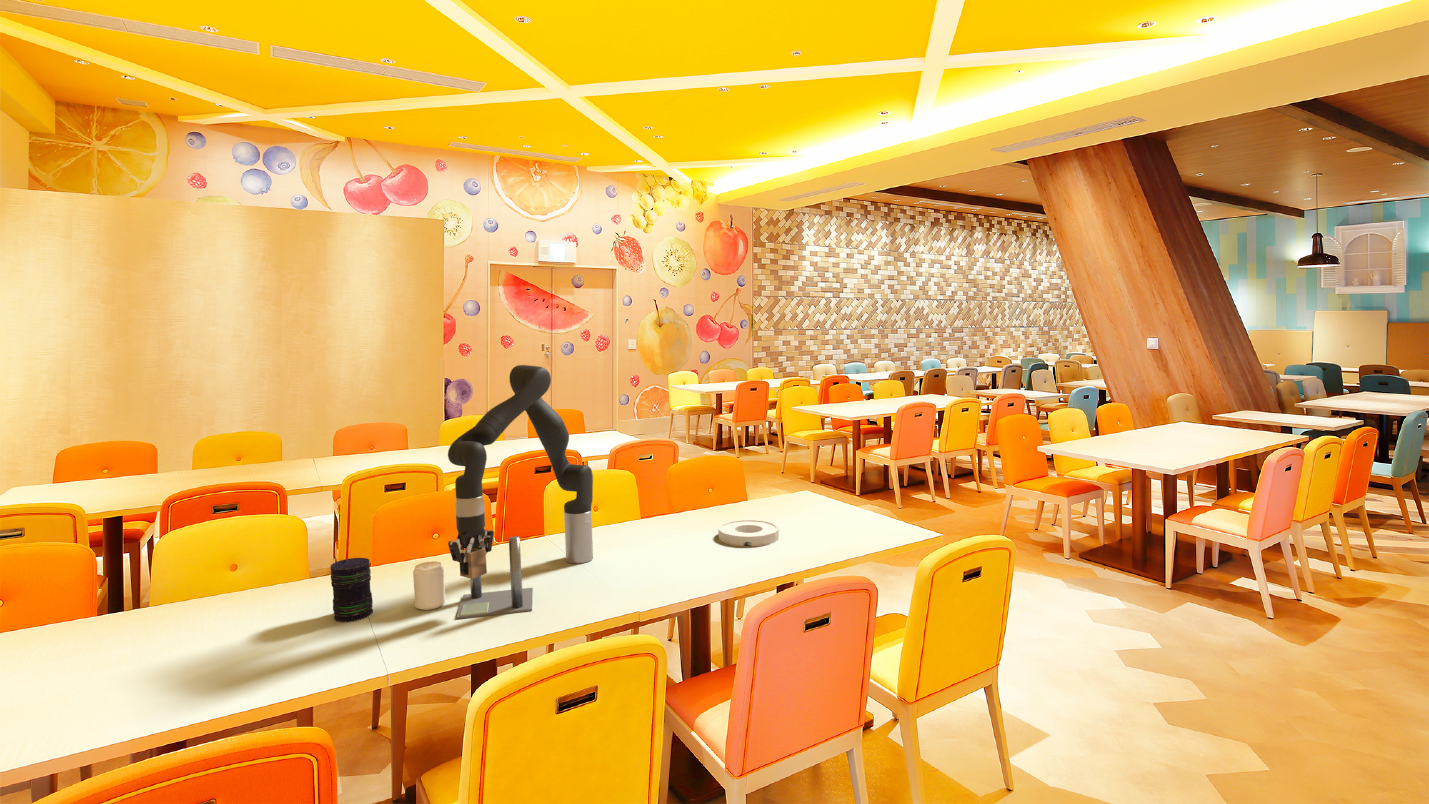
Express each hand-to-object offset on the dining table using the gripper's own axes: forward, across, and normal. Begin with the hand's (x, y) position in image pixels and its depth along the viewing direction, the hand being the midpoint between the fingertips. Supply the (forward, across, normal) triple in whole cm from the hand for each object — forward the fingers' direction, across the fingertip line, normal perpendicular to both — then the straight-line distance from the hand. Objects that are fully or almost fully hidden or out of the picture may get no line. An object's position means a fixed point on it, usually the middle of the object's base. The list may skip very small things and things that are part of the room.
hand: (473, 571), depth 190 cm
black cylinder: (+12, +19, -28) cm, 36 cm away
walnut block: (+1, 0, 0) cm, 1 cm away
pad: (+11, 0, 0) cm, 11 cm away
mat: (+12, -7, +1) cm, 14 cm away
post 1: (+11, -7, -8) cm, 15 cm away
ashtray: (+12, -100, +33) cm, 106 cm away
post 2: (+11, -8, +9) cm, 16 cm away
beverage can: (+12, +4, -15) cm, 20 cm away
